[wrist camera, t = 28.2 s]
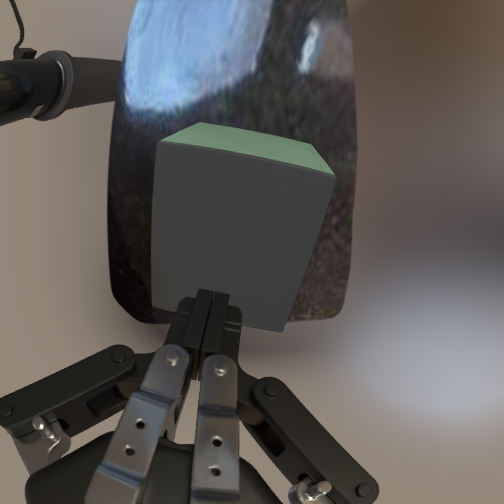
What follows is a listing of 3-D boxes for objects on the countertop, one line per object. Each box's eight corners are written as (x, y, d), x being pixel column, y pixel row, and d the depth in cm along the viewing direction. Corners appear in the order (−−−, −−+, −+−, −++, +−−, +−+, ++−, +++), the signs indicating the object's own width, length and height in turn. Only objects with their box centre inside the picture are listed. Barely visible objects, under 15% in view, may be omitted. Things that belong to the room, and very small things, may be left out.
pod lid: (282, 327, 29) (282, 332, 29) (154, 301, 29) (151, 306, 28) (335, 174, 21) (337, 177, 20) (160, 140, 20) (156, 141, 19)
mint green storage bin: (281, 253, 40) (284, 321, 29) (185, 234, 39) (154, 295, 28) (311, 144, 32) (334, 174, 21) (199, 122, 31) (160, 140, 20)
